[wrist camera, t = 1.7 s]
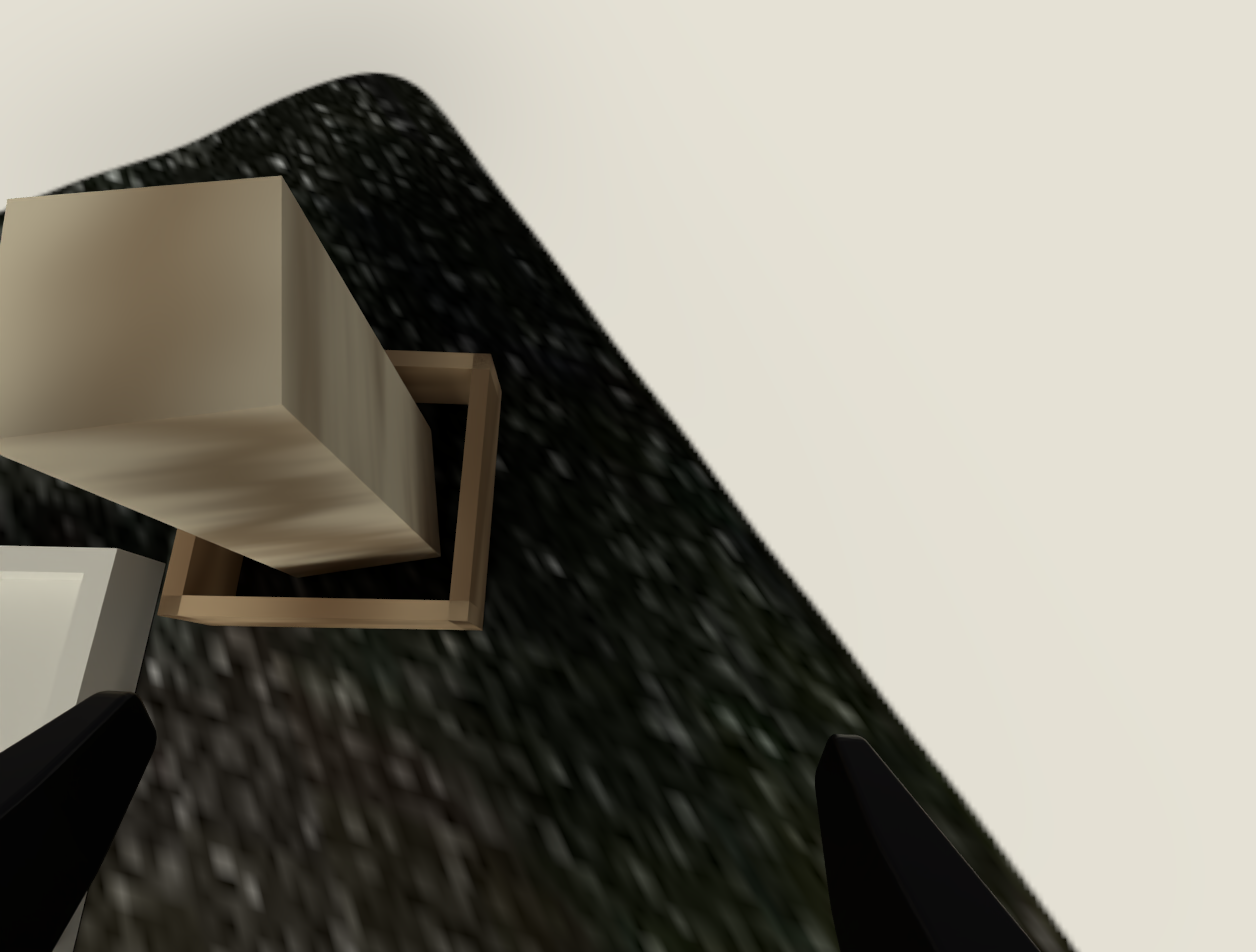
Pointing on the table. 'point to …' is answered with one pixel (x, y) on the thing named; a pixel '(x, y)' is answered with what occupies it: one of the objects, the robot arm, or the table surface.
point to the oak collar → (212, 573)
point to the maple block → (210, 375)
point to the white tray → (69, 636)
